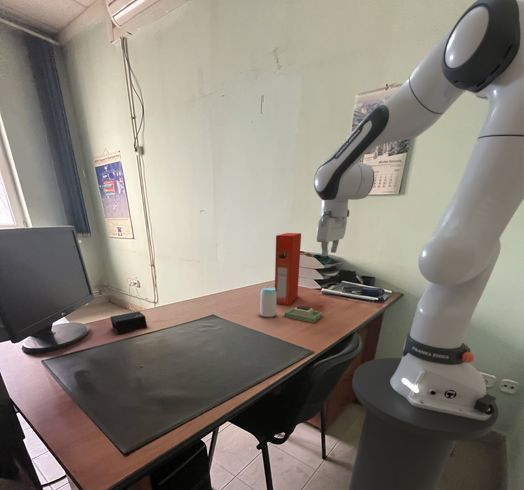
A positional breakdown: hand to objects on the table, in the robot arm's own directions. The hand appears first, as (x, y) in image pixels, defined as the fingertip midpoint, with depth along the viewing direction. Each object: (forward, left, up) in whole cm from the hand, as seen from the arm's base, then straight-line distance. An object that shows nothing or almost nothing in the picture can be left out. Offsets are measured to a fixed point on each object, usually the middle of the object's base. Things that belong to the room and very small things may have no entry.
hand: (329, 254), depth 103 cm
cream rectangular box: (+11, -7, -28) cm, 31 cm away
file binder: (+29, -26, -28) cm, 48 cm away
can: (+25, 0, -28) cm, 38 cm away
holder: (+11, -7, -28) cm, 31 cm away
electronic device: (+62, +43, -28) cm, 81 cm away
